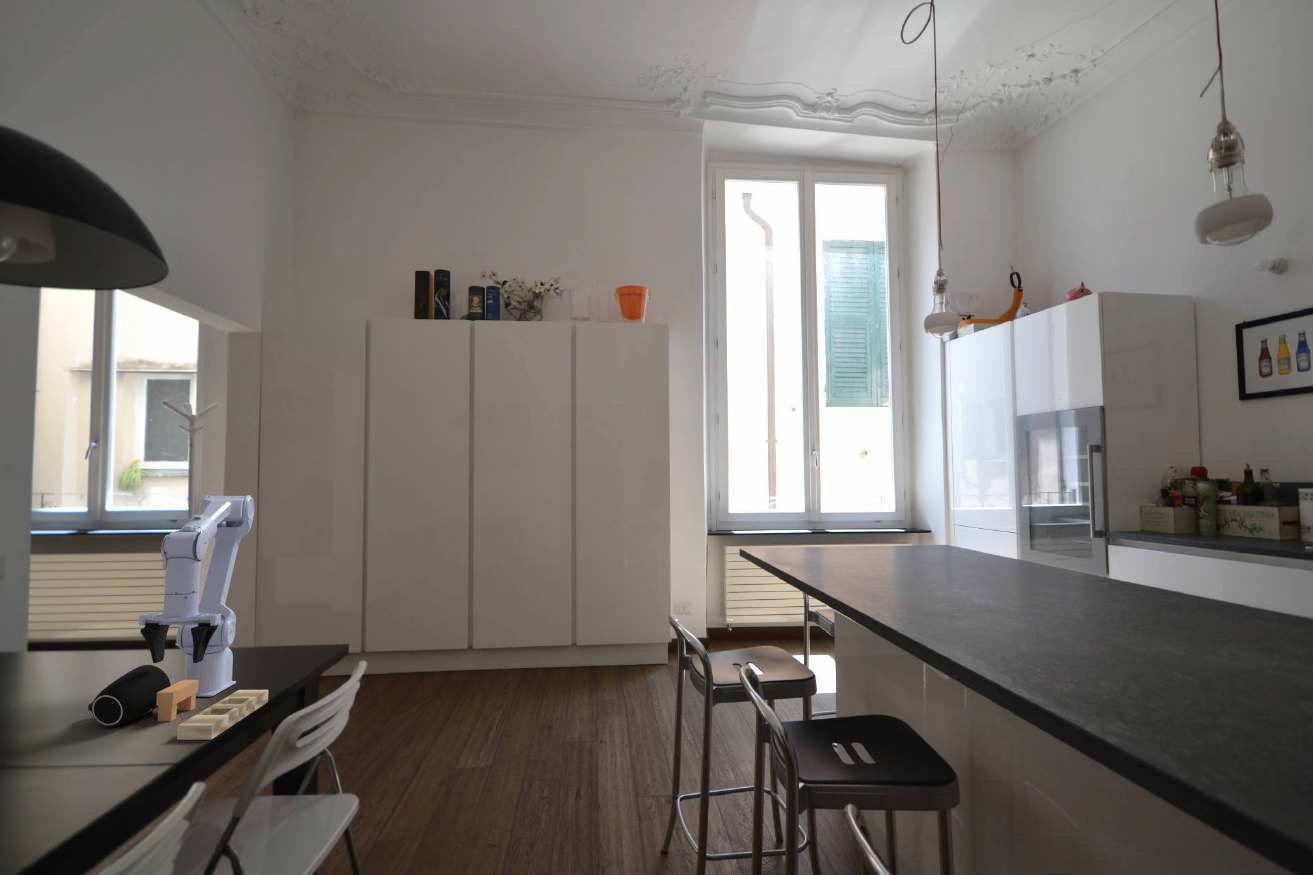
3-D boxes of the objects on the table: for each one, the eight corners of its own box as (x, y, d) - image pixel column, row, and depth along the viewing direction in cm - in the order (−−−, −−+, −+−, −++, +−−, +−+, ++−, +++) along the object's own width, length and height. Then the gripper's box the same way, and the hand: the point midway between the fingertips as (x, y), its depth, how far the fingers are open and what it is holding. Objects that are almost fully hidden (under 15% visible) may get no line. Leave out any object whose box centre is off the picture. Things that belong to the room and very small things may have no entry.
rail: (238, 701, 142) (238, 689, 142) (267, 701, 142) (268, 689, 143) (176, 739, 122) (177, 725, 122) (211, 739, 123) (212, 725, 123)
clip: (181, 707, 139) (183, 679, 139) (197, 707, 139) (198, 679, 139) (155, 721, 131) (156, 692, 131) (171, 721, 131) (173, 692, 131)
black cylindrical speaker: (136, 728, 126) (176, 703, 136) (123, 682, 126) (165, 660, 136) (75, 740, 127) (120, 713, 137) (63, 694, 126) (108, 671, 136)
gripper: (129, 595, 131) (125, 667, 130) (207, 595, 132) (203, 667, 131) (154, 589, 138) (150, 657, 137) (228, 589, 139) (224, 657, 138)
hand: (178, 661), depth 135 cm, fingers open, 7 cm apart
